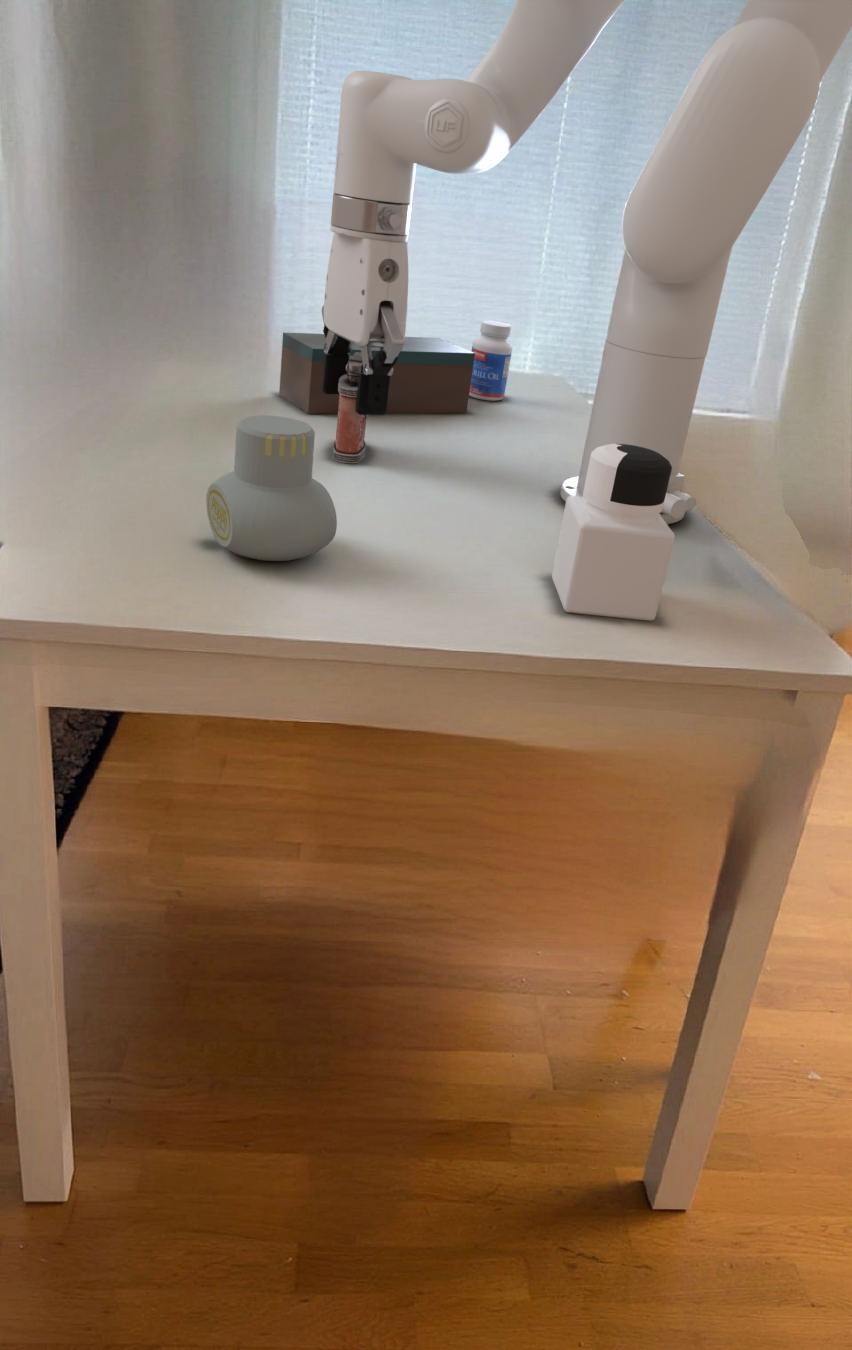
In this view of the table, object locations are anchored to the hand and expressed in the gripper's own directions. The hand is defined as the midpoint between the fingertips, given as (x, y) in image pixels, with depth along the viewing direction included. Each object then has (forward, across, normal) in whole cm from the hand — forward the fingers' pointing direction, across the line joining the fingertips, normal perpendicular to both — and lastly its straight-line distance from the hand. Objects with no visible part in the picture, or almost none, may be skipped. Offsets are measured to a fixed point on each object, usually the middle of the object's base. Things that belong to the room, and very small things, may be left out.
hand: (353, 402), depth 110 cm
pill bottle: (+6, +24, -32) cm, 40 cm away
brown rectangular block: (+5, +20, -13) cm, 24 cm away
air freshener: (+5, -25, +19) cm, 32 cm away
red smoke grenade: (+6, 0, 0) cm, 6 cm away
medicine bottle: (+5, -40, -3) cm, 40 cm away
